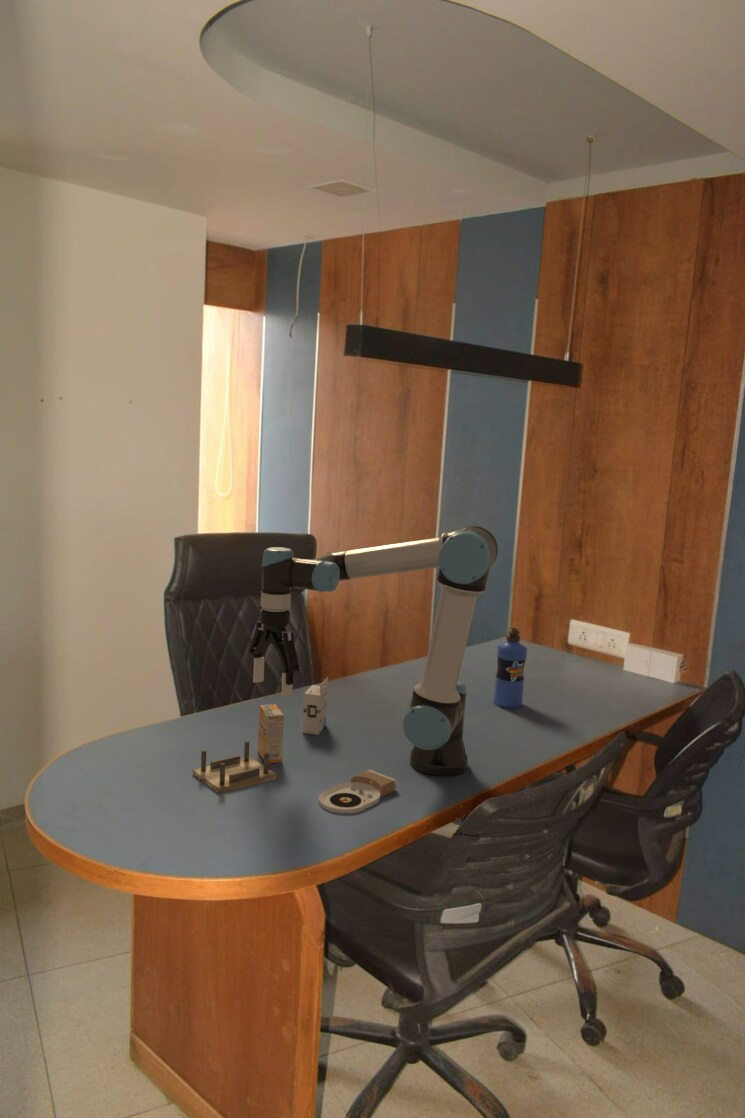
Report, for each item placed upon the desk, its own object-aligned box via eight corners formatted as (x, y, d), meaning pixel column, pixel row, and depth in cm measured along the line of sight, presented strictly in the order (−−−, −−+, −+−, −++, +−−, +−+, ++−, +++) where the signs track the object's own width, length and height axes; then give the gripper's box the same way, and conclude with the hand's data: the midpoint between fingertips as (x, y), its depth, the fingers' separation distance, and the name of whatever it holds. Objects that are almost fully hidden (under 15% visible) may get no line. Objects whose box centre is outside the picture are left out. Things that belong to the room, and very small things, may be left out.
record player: (400, 781, 214) (346, 807, 199) (400, 793, 215) (346, 820, 200) (363, 767, 222) (308, 791, 206) (363, 779, 222) (308, 804, 207)
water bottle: (527, 707, 284) (534, 631, 279) (502, 709, 280) (508, 632, 276) (512, 698, 292) (519, 624, 288) (487, 700, 289) (493, 625, 285)
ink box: (310, 723, 259) (312, 674, 256) (326, 725, 258) (328, 676, 255) (301, 733, 250) (304, 682, 248) (318, 735, 249) (321, 684, 247)
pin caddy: (276, 778, 219) (277, 754, 218) (218, 793, 208) (219, 768, 207) (248, 761, 228) (249, 738, 227) (192, 774, 218) (193, 750, 217)
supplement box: (257, 752, 235) (258, 704, 233) (274, 750, 236) (276, 703, 234) (264, 764, 227) (266, 715, 225) (282, 762, 229) (284, 713, 227)
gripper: (315, 617, 218) (311, 700, 222) (262, 597, 237) (259, 673, 241) (290, 620, 214) (286, 705, 217) (237, 599, 233) (234, 677, 236)
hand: (272, 688), depth 229 cm, fingers open, 13 cm apart
